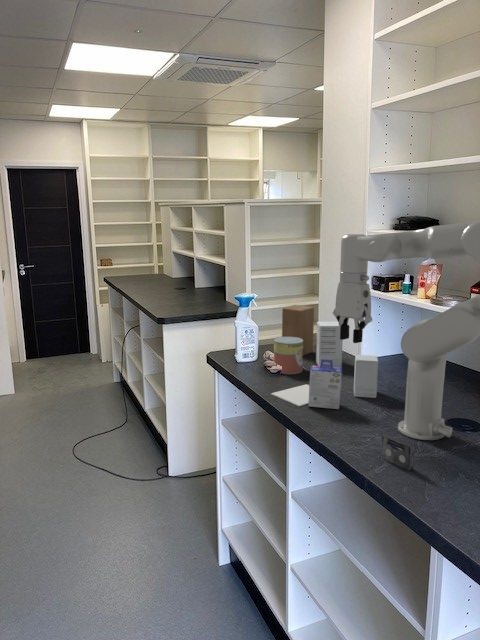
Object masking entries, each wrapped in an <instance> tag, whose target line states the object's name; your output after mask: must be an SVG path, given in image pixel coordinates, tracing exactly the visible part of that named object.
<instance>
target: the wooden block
mask: <svg viewBox="0 0 480 640" xmlns="http://www.w3.org/2000/svg"><path fill="white" fill-rule="evenodd" d="M281 310H282V313H281V320H282V322H281V337H298V338H301V339H303V356H305V355H309V354H312V353H313V351H314V326H315V325H314V324H315V323H314V321H315V308H314V307H313V306H306V305H297V304H295V305H290V306H284V307H282V309H281Z"/></svg>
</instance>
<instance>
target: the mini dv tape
mask: <svg viewBox="0 0 480 640" xmlns="http://www.w3.org/2000/svg"><path fill="white" fill-rule="evenodd" d="M381 439H382V440H381V456H380V459H382V460H385V461H387V462H389V463H392V464H393V465H395V466H398V468H399V467H400V468H401V469H403V470H406V471H408V472H410V471H411V470H414V459H415V458H414V457H415V446H414V445H412V444H408V443H406V442H404V441H402V440H400V439H396V438H394V437H393V436H390V435H387V434H384V435H383V434H382V438H381Z"/></svg>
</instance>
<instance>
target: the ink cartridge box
mask: <svg viewBox="0 0 480 640" xmlns="http://www.w3.org/2000/svg"><path fill="white" fill-rule="evenodd" d="M332 361H333V360H323V359H321V365H320V366H318V365H310V370H309V382H308V383H309V384H308V385H309V402H308V404H307V406H308V407H310V408H311V407H313V408H323V409H334V410H335V409H336V410H339V409H340V404H341V396H342V384H343V381H342V380H343V367H333V365H332V364H333V363H332ZM323 362H329V363H331V364H330V365H326V364H322V363H323Z"/></svg>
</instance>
